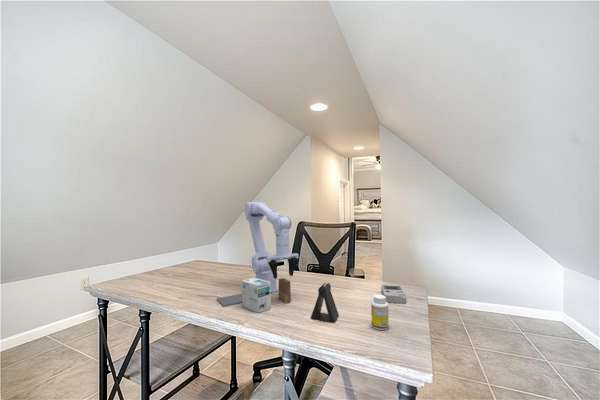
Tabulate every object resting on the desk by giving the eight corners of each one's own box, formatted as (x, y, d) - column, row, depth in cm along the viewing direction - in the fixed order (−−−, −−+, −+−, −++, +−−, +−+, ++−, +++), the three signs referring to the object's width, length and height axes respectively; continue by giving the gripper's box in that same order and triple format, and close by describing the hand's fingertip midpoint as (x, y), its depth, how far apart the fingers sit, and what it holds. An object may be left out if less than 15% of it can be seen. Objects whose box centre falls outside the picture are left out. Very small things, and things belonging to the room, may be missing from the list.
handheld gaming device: (384, 303, 112) (384, 294, 112) (381, 292, 126) (381, 284, 126) (406, 305, 110) (406, 296, 110) (400, 293, 124) (401, 285, 124)
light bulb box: (271, 308, 106) (271, 281, 106) (258, 313, 101) (258, 285, 101) (254, 302, 113) (254, 276, 113) (241, 306, 108) (241, 280, 108)
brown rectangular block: (283, 298, 117) (283, 278, 117) (290, 302, 112) (290, 281, 112) (278, 299, 116) (278, 279, 116) (285, 303, 111) (285, 282, 111)
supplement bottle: (375, 321, 93) (375, 292, 93) (391, 326, 89) (391, 295, 90) (368, 327, 89) (368, 296, 89) (384, 332, 85) (384, 300, 85)
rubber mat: (242, 294, 123) (242, 293, 123) (251, 301, 114) (251, 299, 114) (216, 299, 116) (216, 298, 116) (223, 306, 108) (223, 305, 108)
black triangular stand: (339, 316, 98) (338, 283, 98) (334, 323, 92) (334, 288, 92) (316, 313, 101) (315, 281, 101) (310, 319, 96) (310, 285, 96)
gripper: (271, 247, 107) (271, 281, 106) (301, 244, 115) (302, 276, 114) (264, 245, 113) (264, 277, 113) (293, 243, 121) (294, 273, 120)
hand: (283, 276), depth 114 cm, fingers open, 7 cm apart
